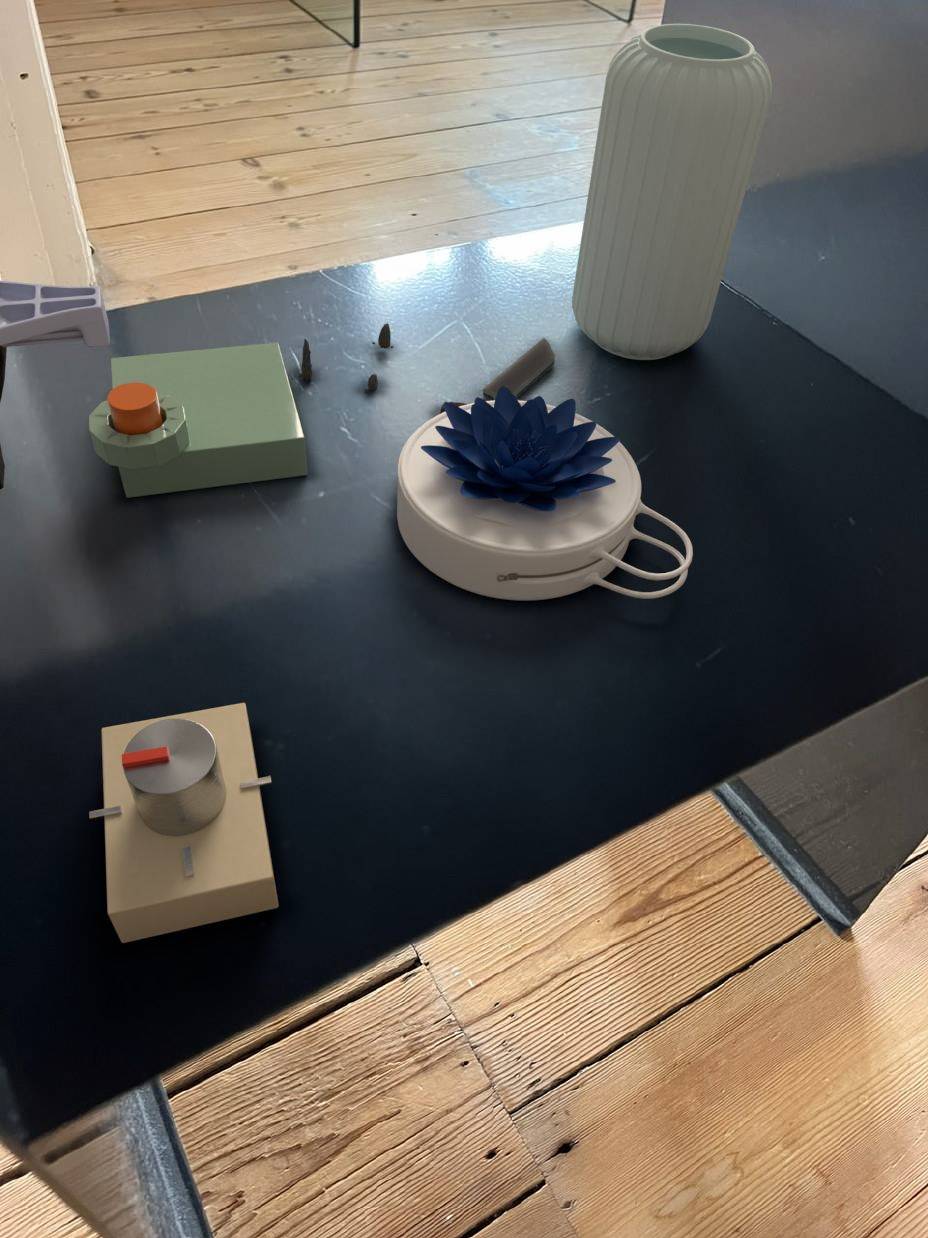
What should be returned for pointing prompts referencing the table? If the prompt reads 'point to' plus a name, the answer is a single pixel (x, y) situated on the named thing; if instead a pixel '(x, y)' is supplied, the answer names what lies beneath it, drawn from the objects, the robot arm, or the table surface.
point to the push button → (135, 408)
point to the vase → (667, 186)
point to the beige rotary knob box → (187, 841)
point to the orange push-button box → (206, 421)
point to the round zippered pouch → (523, 501)
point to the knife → (520, 372)
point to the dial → (175, 776)
